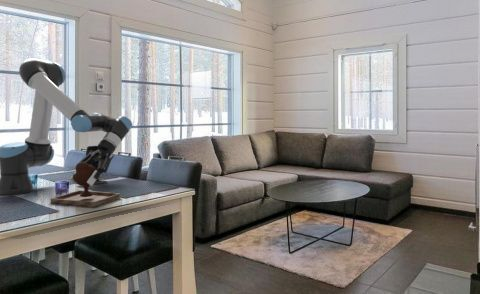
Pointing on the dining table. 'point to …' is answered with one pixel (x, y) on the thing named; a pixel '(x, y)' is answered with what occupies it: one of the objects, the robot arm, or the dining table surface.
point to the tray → (85, 199)
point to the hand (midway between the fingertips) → (80, 182)
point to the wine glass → (95, 163)
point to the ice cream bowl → (84, 177)
